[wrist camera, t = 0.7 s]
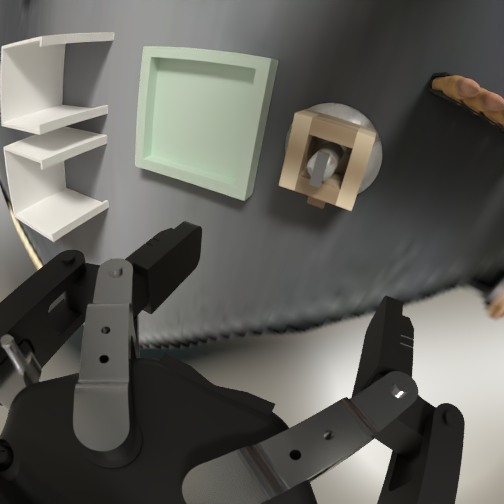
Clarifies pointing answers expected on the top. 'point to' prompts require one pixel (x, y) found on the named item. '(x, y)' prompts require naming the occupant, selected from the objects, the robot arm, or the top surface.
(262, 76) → the tray
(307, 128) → the brown wooden frame
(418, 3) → the top surface
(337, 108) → the grey round stand
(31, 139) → the storage container
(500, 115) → the ammunition clip
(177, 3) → the top surface
